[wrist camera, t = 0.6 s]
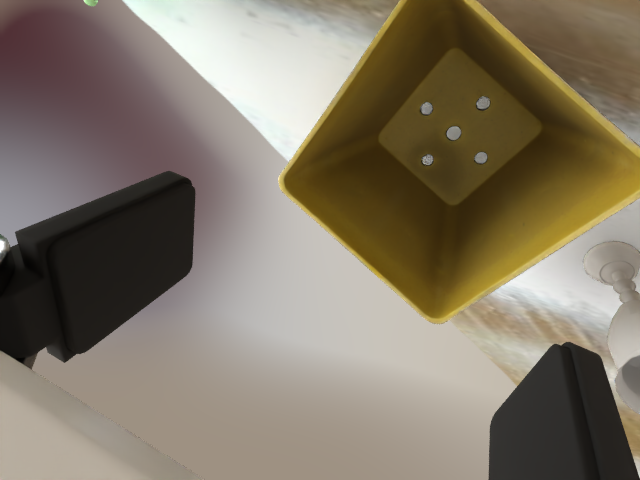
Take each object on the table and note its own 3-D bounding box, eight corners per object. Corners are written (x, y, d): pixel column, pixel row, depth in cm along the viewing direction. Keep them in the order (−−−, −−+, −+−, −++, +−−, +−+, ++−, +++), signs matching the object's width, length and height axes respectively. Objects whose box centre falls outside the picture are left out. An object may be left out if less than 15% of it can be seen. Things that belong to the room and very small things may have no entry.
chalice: (672, 259, 38) (785, 396, 23) (615, 301, 42) (681, 442, 27) (606, 220, 39) (676, 330, 24) (556, 265, 43) (590, 383, 28)
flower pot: (452, 245, 46) (435, 330, 33) (337, 142, 46) (271, 185, 32) (603, 124, 35) (674, 177, 22) (453, -11, 35) (428, -45, 21)
